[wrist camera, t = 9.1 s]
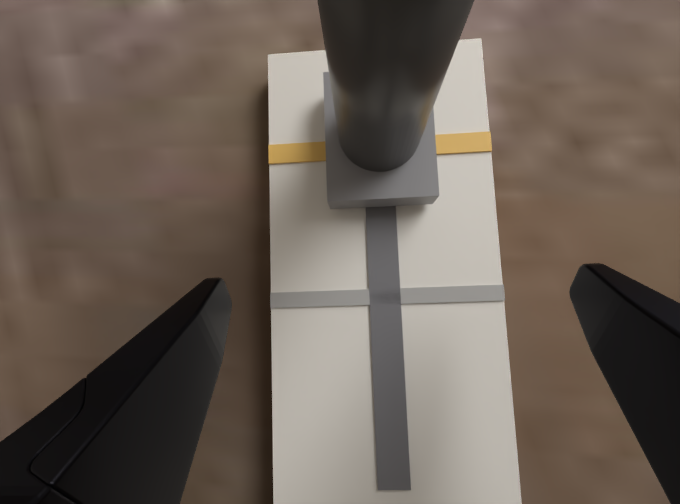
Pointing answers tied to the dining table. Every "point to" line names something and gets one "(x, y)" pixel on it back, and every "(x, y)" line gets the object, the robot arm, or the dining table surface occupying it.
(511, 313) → the dining table surface
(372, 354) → the fader console
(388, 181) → the lever
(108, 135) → the dining table surface
